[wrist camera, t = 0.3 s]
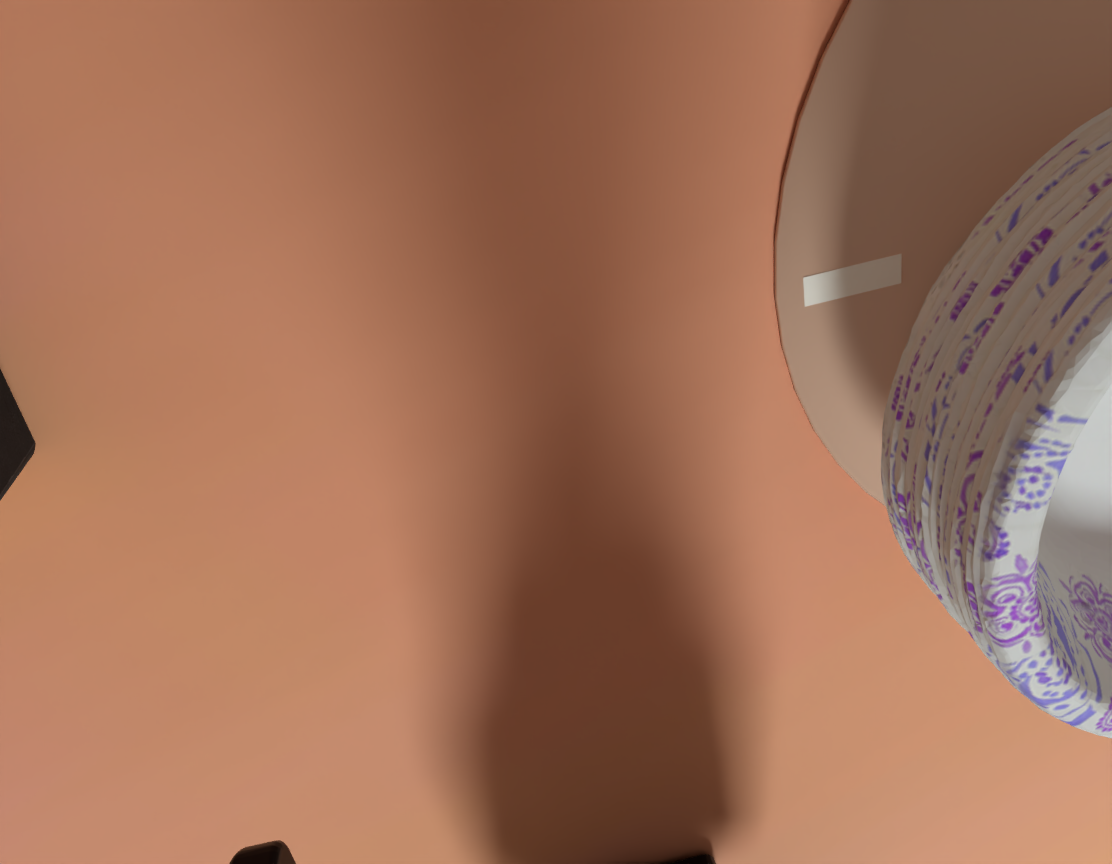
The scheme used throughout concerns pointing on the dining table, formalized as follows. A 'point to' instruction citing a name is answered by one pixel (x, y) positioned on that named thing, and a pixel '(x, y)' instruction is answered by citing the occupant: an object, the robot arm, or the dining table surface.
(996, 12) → the centring plate
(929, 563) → the white floral bowl
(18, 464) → the ammunition clip
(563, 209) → the dining table surface
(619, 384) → the dining table surface
